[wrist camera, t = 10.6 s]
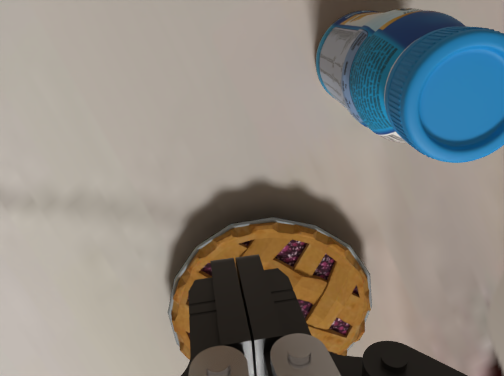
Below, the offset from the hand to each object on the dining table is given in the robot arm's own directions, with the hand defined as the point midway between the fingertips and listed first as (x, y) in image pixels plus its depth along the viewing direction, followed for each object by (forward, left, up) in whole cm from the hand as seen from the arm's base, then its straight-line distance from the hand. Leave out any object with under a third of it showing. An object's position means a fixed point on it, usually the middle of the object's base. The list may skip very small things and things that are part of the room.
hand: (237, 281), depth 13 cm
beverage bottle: (+12, +4, -30) cm, 32 cm away
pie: (+5, -22, -30) cm, 37 cm away
